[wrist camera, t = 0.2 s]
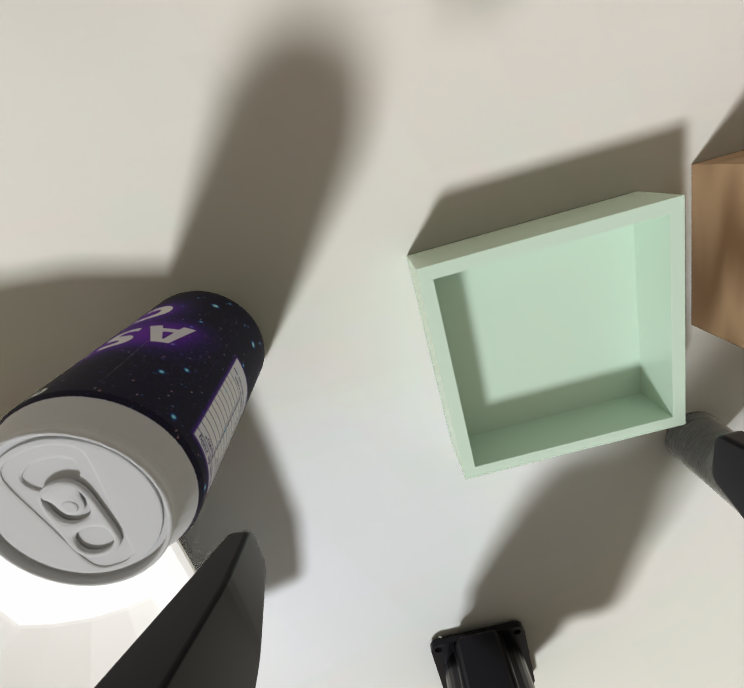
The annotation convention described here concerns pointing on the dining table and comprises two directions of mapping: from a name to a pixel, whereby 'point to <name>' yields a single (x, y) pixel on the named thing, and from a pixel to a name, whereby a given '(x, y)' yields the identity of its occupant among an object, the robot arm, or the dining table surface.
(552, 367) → the tray
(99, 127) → the dining table surface
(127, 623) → the bowl
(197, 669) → the robot arm
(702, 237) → the brown square sleeve
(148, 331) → the beverage can
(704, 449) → the cylinder
